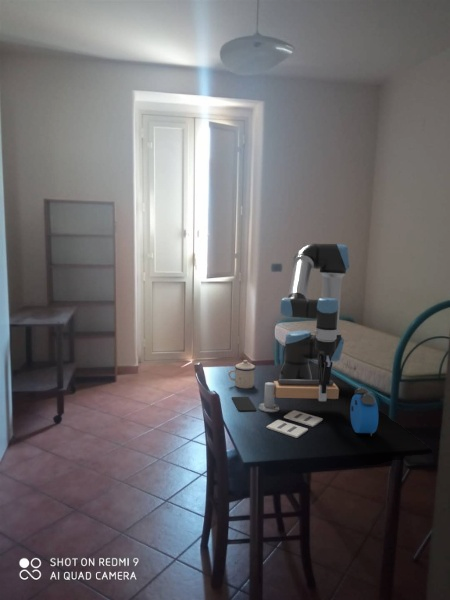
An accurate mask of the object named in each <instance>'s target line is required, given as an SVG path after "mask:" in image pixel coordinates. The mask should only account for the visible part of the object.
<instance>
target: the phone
mask: <svg viewBox="0 0 450 600" xmlns="http://www.w3.org/2000/svg"><path fill="white" fill-rule="evenodd" d="M231 401H232V403H233V404H234V406H235V408H236V410H237V411H238V413H239V412H240V413H242V412H243V413H246V412H247V413H249V412H256V411H257V408H256V406H255V404H254V403H253V401H252V400H251V399H250V397H249V396H233V397H231Z"/></svg>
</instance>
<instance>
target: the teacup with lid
mask: <svg viewBox="0 0 450 600" xmlns="http://www.w3.org/2000/svg"><path fill="white" fill-rule="evenodd" d="M234 368H235V369H231V370H229V372H228V373H227V374H228V375H227V376H228V378H229V379H230V381H232V382H234V385H235V387H237V388H240V389H251V388H253V387H254V386H255V373H256V371H255V370H256V366H255V364H252V363H250V362H248V360H247V359H244V360H243V361H242V362H239V363H237V364H236V365H235V366H234ZM232 372H234V374H235V375H234V376H235V377H234V378H233V377H231V373H232Z"/></svg>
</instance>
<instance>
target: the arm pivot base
mask: <svg viewBox="0 0 450 600" xmlns="http://www.w3.org/2000/svg"><path fill="white" fill-rule="evenodd" d="M258 410H260V412H264V413H270V414H272V413H276V412H279V411H280V406H279V405H278V404H276V403H274V407H272V408H267V407H265V406H264V402H263V403H259V404H258Z"/></svg>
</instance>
